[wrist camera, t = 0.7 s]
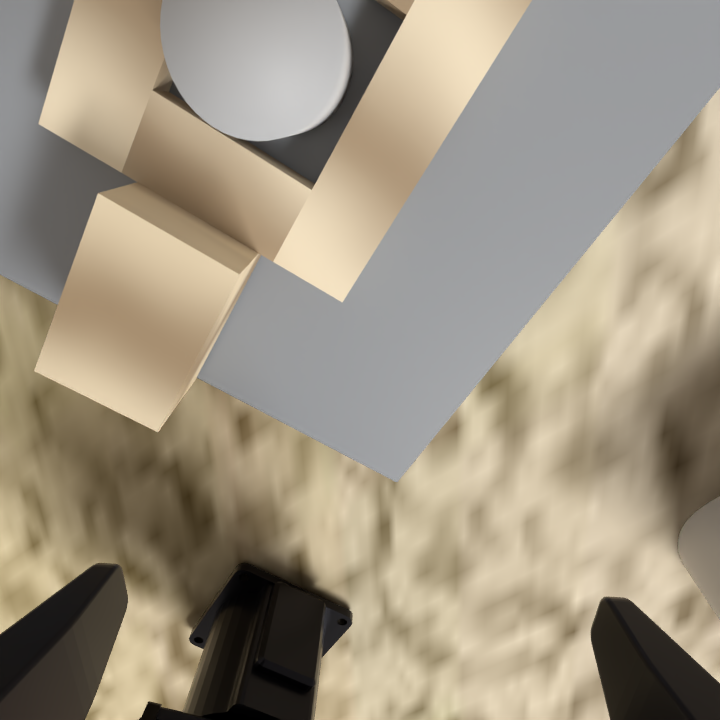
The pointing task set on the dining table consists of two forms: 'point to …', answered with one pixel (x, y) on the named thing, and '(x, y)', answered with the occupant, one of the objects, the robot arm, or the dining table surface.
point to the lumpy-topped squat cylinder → (703, 551)
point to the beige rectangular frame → (229, 191)
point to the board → (417, 216)
